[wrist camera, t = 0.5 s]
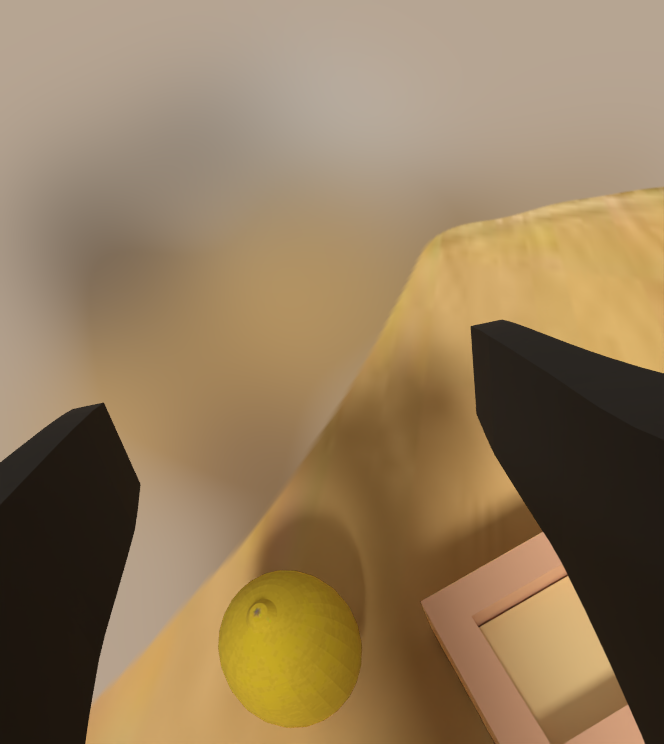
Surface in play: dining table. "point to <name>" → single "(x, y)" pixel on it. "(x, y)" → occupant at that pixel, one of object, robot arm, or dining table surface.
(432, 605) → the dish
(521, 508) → the dining table surface
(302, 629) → the lemon
